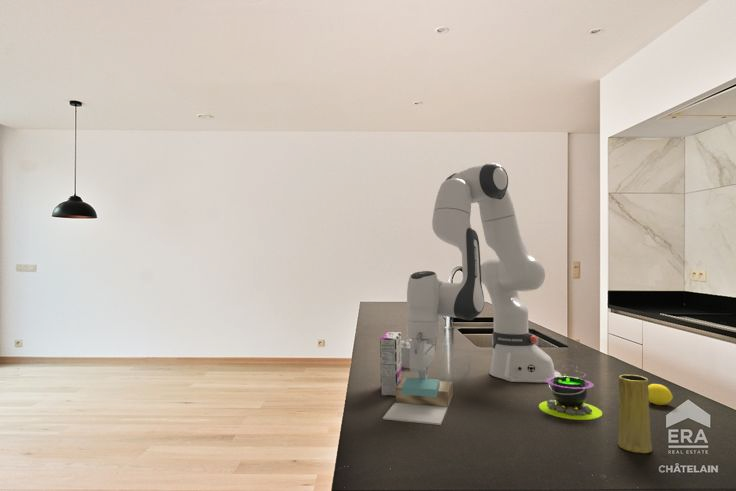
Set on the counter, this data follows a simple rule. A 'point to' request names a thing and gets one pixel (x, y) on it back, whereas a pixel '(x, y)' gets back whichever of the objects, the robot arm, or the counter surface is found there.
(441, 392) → the wooden block
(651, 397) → the lemon
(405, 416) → the mat
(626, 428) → the vase
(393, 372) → the candy bar box
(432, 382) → the teal rectangular block
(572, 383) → the toy cauldron
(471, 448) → the counter surface
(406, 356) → the lumpy-topped squat cylinder
